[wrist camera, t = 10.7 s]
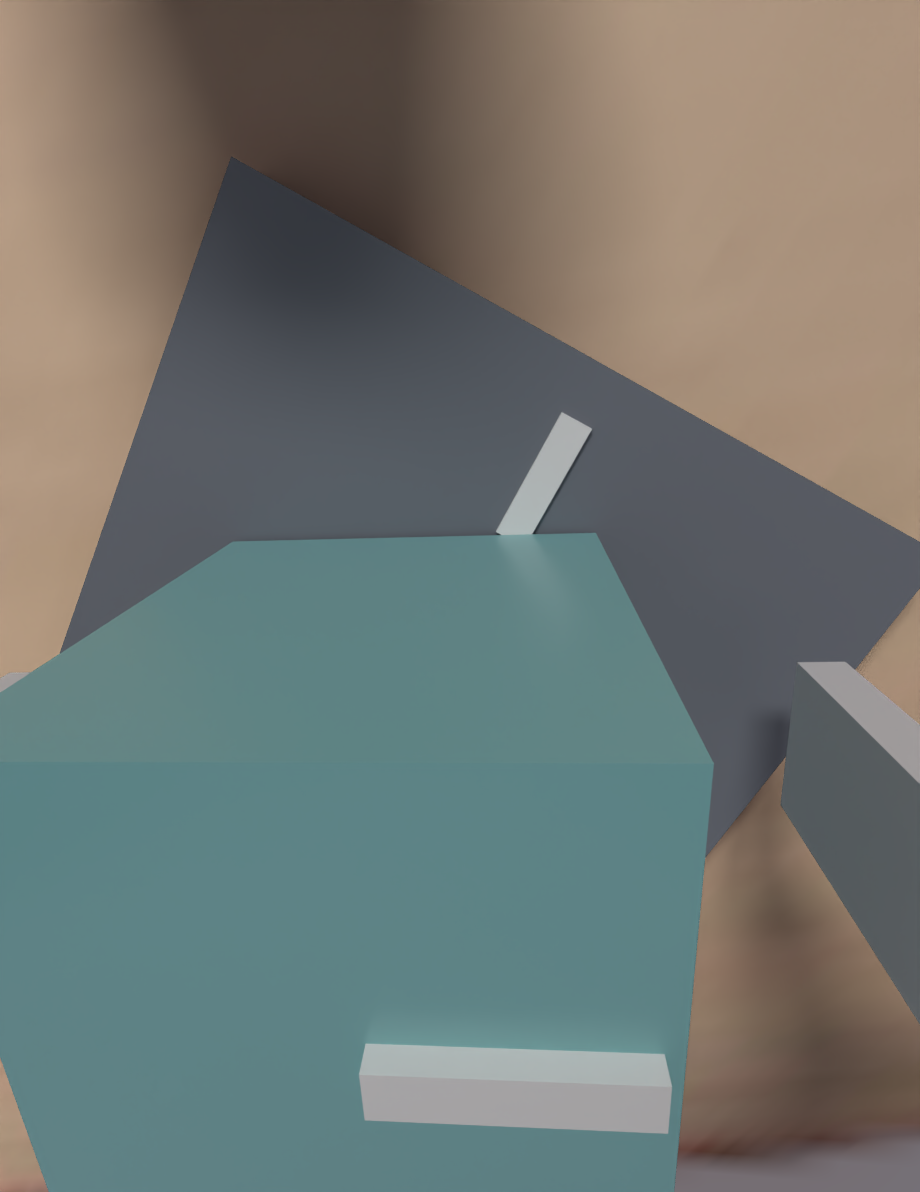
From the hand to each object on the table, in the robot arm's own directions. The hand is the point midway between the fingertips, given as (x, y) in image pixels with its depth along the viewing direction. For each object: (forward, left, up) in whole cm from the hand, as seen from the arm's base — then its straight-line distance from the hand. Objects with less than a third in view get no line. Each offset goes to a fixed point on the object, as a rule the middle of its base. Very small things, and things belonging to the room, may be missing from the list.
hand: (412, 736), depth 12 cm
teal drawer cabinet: (0, 0, -2) cm, 2 cm away
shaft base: (0, 0, -3) cm, 3 cm away
